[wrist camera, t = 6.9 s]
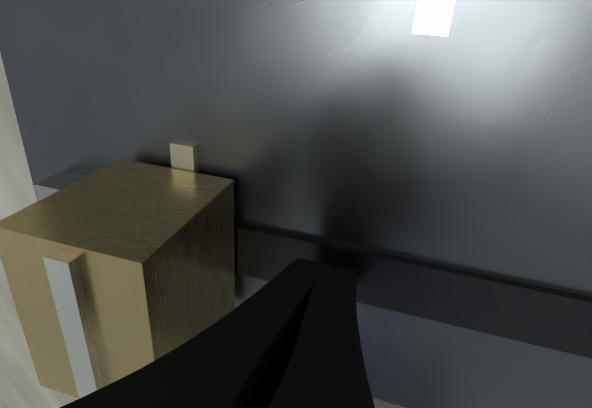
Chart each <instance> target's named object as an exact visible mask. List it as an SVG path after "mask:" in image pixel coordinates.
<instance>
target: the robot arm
mask: <svg viewBox="0 0 592 408" xmlns="http://www.w3.org/2000/svg"><path fill="white" fill-rule="evenodd" d="M358 280H359V276H358V274H357V273H356V272H355V270H351V269H346V268H342V267H337V266H333V265H328V264H323V263H319V262H314V261H310V260H305V259H300V258H298V259H296V260H295V261H293V262H292V263H291V264H289V265H288V266H287V267H286V268H285V269H284V270H282V271H281V272H280V273H279V274H278V275H276V276H275V277H274V278H273V279H272V280H270V281H269V282H268V283H267V284H266V285H264V286H263V287H262V288H261V289H259V290H258V291H257V292H256V293H254V294H253V295H252V296H250V297H249V298H248V299H246V300H245V301H244V302H242V303H241V304H240V305H239V306H237V307H236V308H235V309H233V310H232V311H231V312H229V313H228V314H226V315H225V316H224V317H222V318H221V319H219V320H218V321H216V322H215V323H213V324H212V325H210V326H209V327H207V328H206V329H205V330H203V331H202V332H200V333H199V334H197V335H196V336H194V337H193V338H191V339H190V340H188V341H186V342H185V343H183V344H182V345H180V346H178V347H177V348H175V349H173V350H172V351H170V352H168V353H167V354H165V355H163V356H162V357H160V358H158V359H156V360H155V361H153V362H151V363H149V364H148V365H146V366H144V367H142V368H140V369H138V370H137V371H135V372H133V373H131V374H129V375H127V376H125V377H123V378H121V379H119V380H117V381H115V382H113V383H111V384H109V385H107V386H105V387H103V388H101V389H98V390H96V391H94V392H92V393H90V394H88V395H86V396H84V397H82V398H80V399H78V400H76V401H74V402H71V403H69V404H67V405H65V406H63V407H60V408H375V407H374V403H373V399H372V395H371V391H370V387H369V382H368V378H367V374H366V369H365V364H364V359H363V354H362V348H361V341H360V335H359V328H358V320H357V306H356V293H357V286H358Z"/></svg>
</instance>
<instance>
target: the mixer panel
mask: <svg viewBox="0 0 592 408" xmlns="http://www.w3.org/2000/svg"><path fill="white" fill-rule="evenodd" d="M0 52H1V56H2V60H3V64H4V68H5V72H6V76H7V80H8V84H9V88H10V92H11V96H12V101H13V105H14V109H15V113H16V117H17V121H18V125H19V129H20V133H21V137H22V141H23V145H24V149H25V153H26V157H27V161H28V165H29V169H30V173H31V177H32V181H33V185H34V189H35V194H36V198H37V202H38V201H40V200H42V199H44V198H46V197H48V196H50V195H51V194H53V193H55V192H57V191H59V190H61V189H63V188H65V187H67V186H69V185H71V184H73V183H75V182H77V181H79V180H81V179H83V178H85V177H87V176H89V175H90V174H92V173H94V172H96V171H98V170H100V169H102V168H104V167H106V166H108V165H110V164H112V163H114V162H116V161H118V160H120V159H124V160H130V161H135V162H140V163H146V164H151V165H157V166H162V167H167V168H173V169H178V170H184V171H189V172H194V173H200V174H205V175H211V176H216V177H221V178H227V179H232V180H234V256H235V308H236V307H237V306H239V305H240V304H241V303H242V302H244V301H245V300H246V299H248V298H249V297H250V296H252V295H253V294H254V293H256V292H257V291H258V290H259V289H261V288H262V287H263V286H264V285H266V284H267V283H268V282H269V281H270V280H272V279H273V278H274V277H275V276H276V275H278V274H279V273H280V272H281V271H282V270H284V269H285V268H286V267H287V266H288V265H289V264H291V263H292V262H293V261H295V260H296V259H298V258H300V259H305V260H310V261H314V262H319V263H323V264H328V265H333V266H337V267H342V268H346V269H351V270H355V272H356V273H357V274H358V276H359V280H358V286H357V293H356V306H357V320H358V328H359V335H360V341H361V348H362V354H363V359H364V364H365V369H366V374H367V378H368V382H369V387H370V391H371V395H372V397H373V398H376V399H380V400H383V401H387V402H390V403H393V404H397V405H400V406H404V407H407V408H592V0H0Z"/></svg>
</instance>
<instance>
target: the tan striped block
mask: <svg viewBox="0 0 592 408" xmlns="http://www.w3.org/2000/svg"><path fill="white" fill-rule="evenodd" d="M0 258H1V261H2V264H3V267H4V271H5V274H6V277H7V280H8V283H9V286H10V290H11V293H12V296H13V299H14V302H15V306H16V309H17V312H18V315H19V318H20V321H21V325H22V328H23V331H24V334H25V337H26V341H27V344H28V347H29V350H30V353H31V356H32V360H33V363H34V366H35V369H36V372H37V376H38V379H39V382H40V385H41V386H44V387H47V388H50V389H53V390H56V391H59V392H62V393H64V394H67V395H70V396H73V397H76V398H79V399H80V398H82V397H84V396H86V395H88V394H90V393H92V392H94V391H96V390H98V389H101V388H103V387H105V386H107V385H109V384H111V383H113V382H115V381H117V380H119V379H121V378H123V377H125V376H127V375H129V374H131V373H133V372H135V371H137V370H138V369H140V368H142V367H144V366H146V365H148V364H149V363H151V362H153V361H155V360H156V359H158V358H160V357H162V356H163V355H165V354H167V353H168V352H170V351H172V350H173V349H175V348H177V347H178V346H180V345H182V344H183V343H185V342H186V341H188V340H190V339H191V338H193V337H194V336H196V335H197V334H199V333H200V332H202V331H203V330H205V329H206V328H207V327H209V326H210V325H212V324H213V323H215V322H216V321H218V320H219V319H221V318H222V317H224V316H225V315H226V314H228V313H229V312H231V311H232V310H233V309H235V256H234V180H232V179H227V178H221V177H216V176H211V175H205V174H200V173H194V172H189V171H184V170H178V169H173V168H167V167H162V166H157V165H151V164H146V163H140V162H135V161H130V160H124V159H120V160H118V161H116V162H114V163H112V164H110V165H108V166H106V167H104V168H102V169H100V170H98V171H96V172H94V173H92V174H90V175H89V176H87V177H85V178H83V179H81V180H79V181H77V182H75V183H73V184H71V185H69V186H67V187H65V188H63V189H61V190H59V191H57V192H55V193H53V194H51V195H50V196H48V197H46V198H44V199H42V200H40V201H38V202H36V203H34V204H32V205H30V206H28V207H26V208H24V209H22V210H20V211H18V212H16V213H14V214H12V215H11V216H9V217H7V218H5V219H3V220H1V221H0Z"/></svg>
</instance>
